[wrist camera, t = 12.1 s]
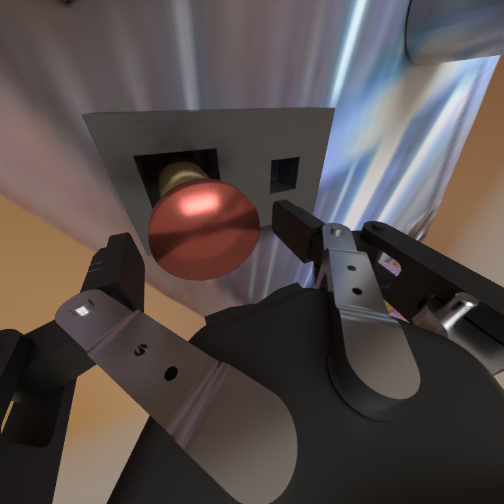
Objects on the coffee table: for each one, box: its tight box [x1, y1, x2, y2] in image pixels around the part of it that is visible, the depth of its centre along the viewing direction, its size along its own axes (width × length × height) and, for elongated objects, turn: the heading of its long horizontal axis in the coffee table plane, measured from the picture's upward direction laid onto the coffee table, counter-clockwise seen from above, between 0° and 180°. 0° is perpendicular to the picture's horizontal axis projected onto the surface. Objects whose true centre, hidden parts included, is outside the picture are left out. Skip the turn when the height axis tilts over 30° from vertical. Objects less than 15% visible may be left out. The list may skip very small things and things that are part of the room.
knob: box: [148, 155, 260, 280], centre depth 13 cm, size 6×6×11 cm
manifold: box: [82, 107, 335, 255], centre depth 17 cm, size 18×10×4 cm, turn 90°
